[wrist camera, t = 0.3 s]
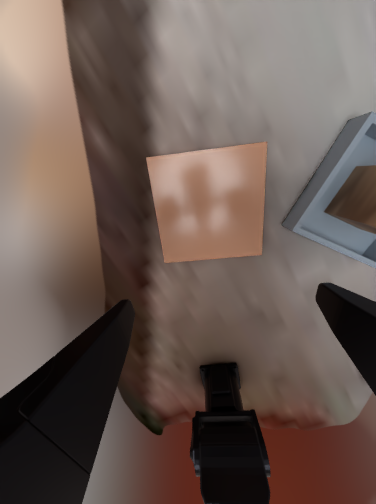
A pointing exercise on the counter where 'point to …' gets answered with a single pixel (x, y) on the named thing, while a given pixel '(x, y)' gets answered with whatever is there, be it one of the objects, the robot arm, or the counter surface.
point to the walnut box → (357, 199)
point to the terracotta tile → (210, 202)
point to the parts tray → (326, 187)
